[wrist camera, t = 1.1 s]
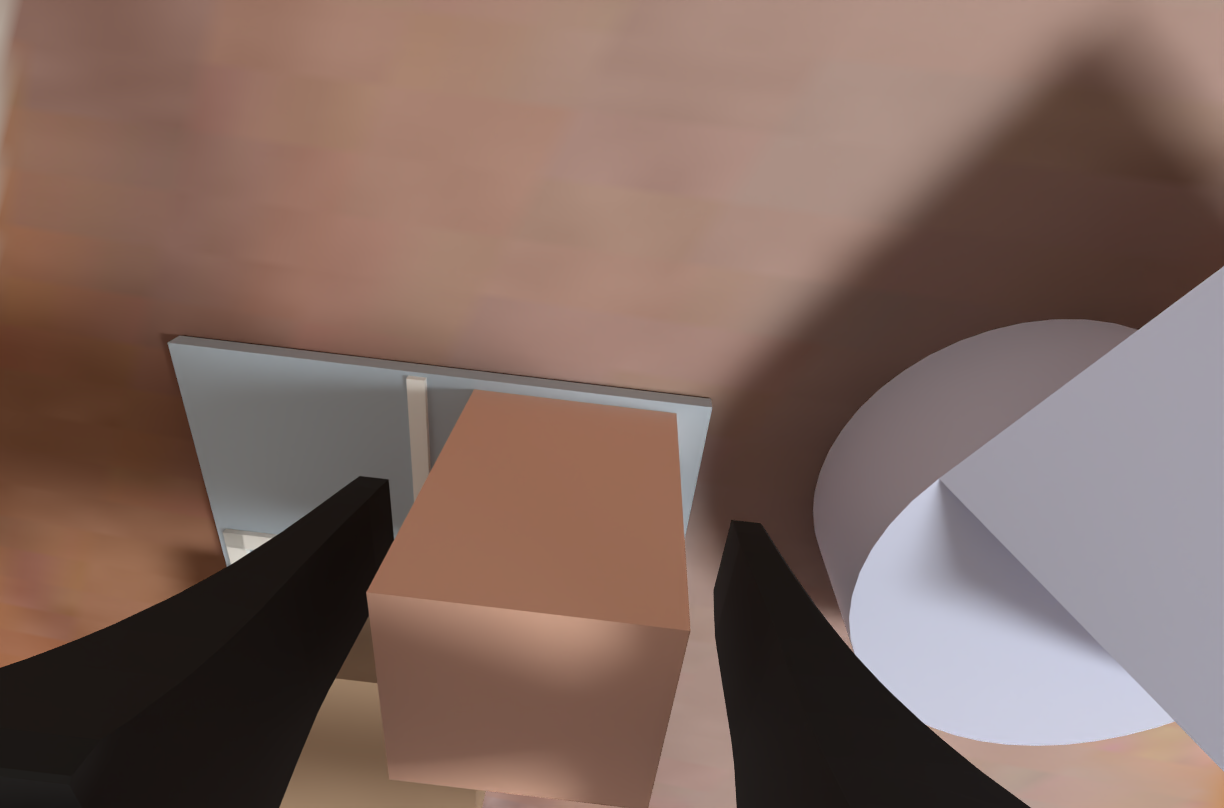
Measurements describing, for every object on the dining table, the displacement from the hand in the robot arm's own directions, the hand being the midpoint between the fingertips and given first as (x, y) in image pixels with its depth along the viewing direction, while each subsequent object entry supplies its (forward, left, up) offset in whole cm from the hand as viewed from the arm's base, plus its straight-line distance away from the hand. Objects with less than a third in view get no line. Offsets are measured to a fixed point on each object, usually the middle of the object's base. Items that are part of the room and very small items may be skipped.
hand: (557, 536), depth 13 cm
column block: (0, 0, -2) cm, 2 cm away
